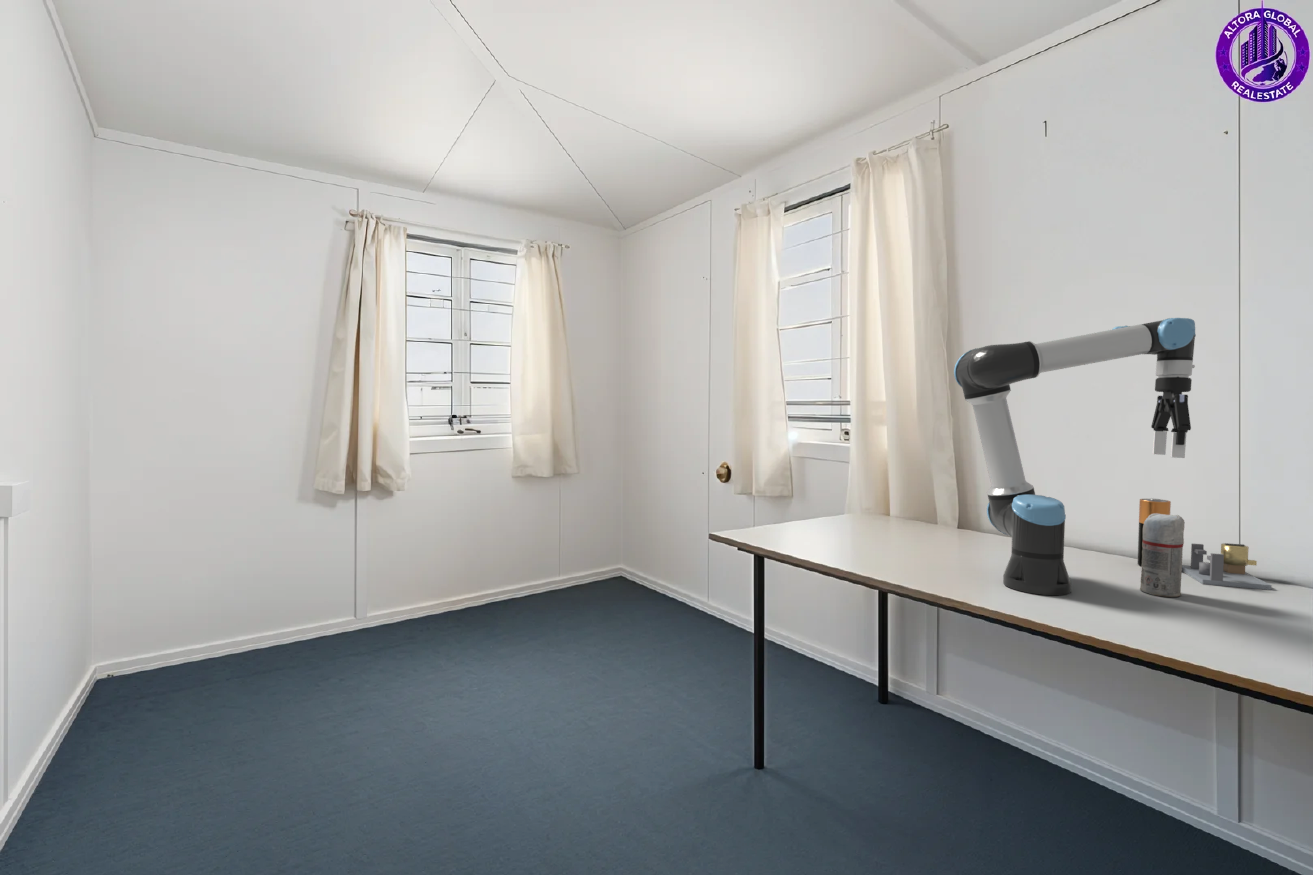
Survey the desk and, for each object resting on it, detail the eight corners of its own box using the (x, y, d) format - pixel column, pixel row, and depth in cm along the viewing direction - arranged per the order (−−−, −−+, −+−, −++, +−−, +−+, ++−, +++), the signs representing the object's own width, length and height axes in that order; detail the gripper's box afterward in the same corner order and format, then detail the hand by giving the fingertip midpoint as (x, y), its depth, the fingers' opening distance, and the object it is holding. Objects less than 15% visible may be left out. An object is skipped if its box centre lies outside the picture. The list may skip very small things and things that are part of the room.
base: (1202, 584, 166) (1203, 553, 166) (1178, 568, 182) (1179, 540, 182) (1271, 590, 161) (1272, 558, 161) (1240, 573, 177) (1241, 544, 176)
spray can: (1190, 599, 153) (1193, 518, 152) (1151, 597, 155) (1154, 516, 154) (1169, 589, 162) (1172, 512, 161) (1133, 587, 163) (1135, 511, 162)
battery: (1138, 567, 184) (1140, 499, 183) (1136, 562, 190) (1139, 496, 189) (1169, 570, 180) (1172, 501, 179) (1167, 565, 186) (1169, 498, 185)
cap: (1250, 562, 175) (1251, 543, 174) (1260, 567, 169) (1261, 547, 169) (1208, 559, 178) (1209, 540, 178) (1217, 564, 173) (1217, 544, 173)
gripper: (1211, 374, 155) (1205, 459, 157) (1173, 379, 178) (1168, 453, 180) (1173, 374, 158) (1167, 458, 159) (1141, 379, 181) (1136, 452, 182)
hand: (1167, 456), depth 169 cm, fingers open, 13 cm apart
